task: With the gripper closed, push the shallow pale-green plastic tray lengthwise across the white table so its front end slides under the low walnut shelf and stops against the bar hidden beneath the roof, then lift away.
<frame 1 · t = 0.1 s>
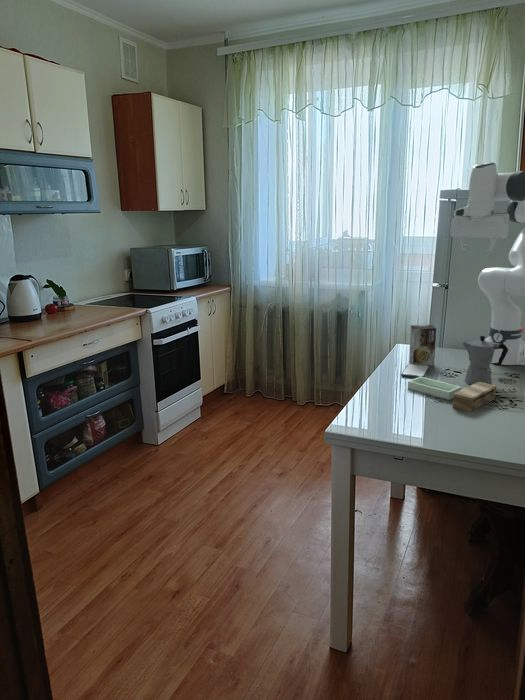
hand: (476, 250, 185), 48 cm above the table, tool pointing down, fingers open, 8 cm apart
walnut shelf: (472, 402, 171), on the table
smartphone: (415, 374, 203), on the table
tray: (433, 391, 181), on the table
coffee box: (421, 364, 214), on the table
coffeepot: (481, 383, 189), on the table
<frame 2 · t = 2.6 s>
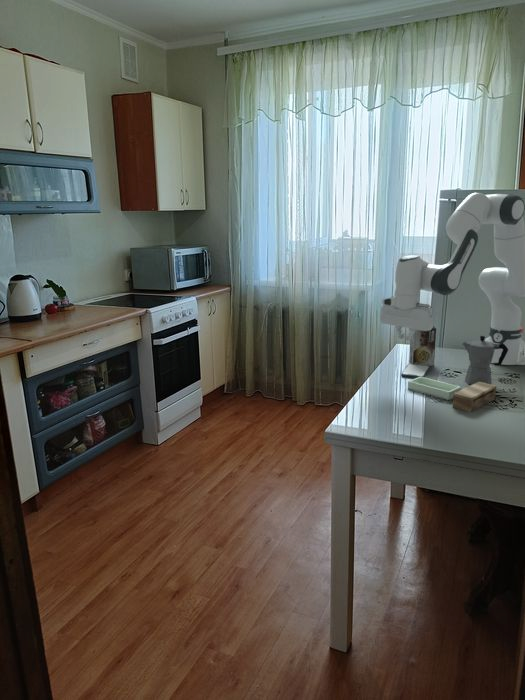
hand: (404, 339, 186), 17 cm above the table, tool pointing down, fingers closed
nothing on the table moved.
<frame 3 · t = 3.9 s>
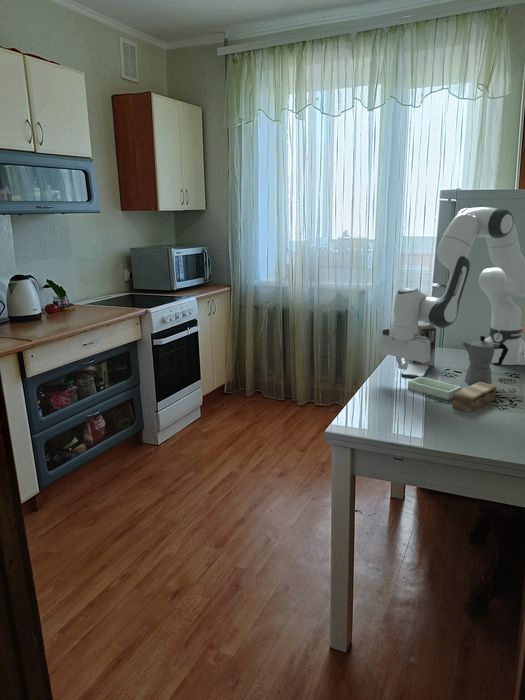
hand: (402, 368, 189), 6 cm above the table, tool pointing down, fingers closed
nothing on the table moved.
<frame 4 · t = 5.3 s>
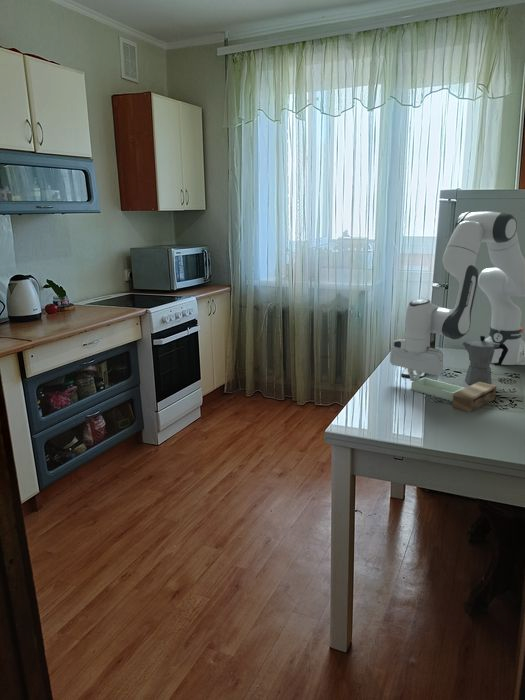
hand: (414, 381, 186), 2 cm above the table, tool pointing down, fingers closed
tray: (437, 393, 180), on the table, touching gripper
everything else where it was.
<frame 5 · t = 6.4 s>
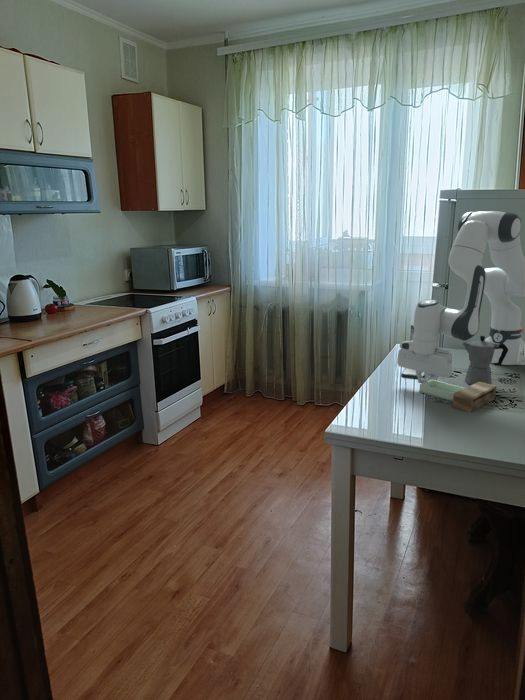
hand: (422, 383, 184), 2 cm above the table, tool pointing down, fingers closed
tray: (446, 395, 178), on the table, touching gripper
everything else where it was.
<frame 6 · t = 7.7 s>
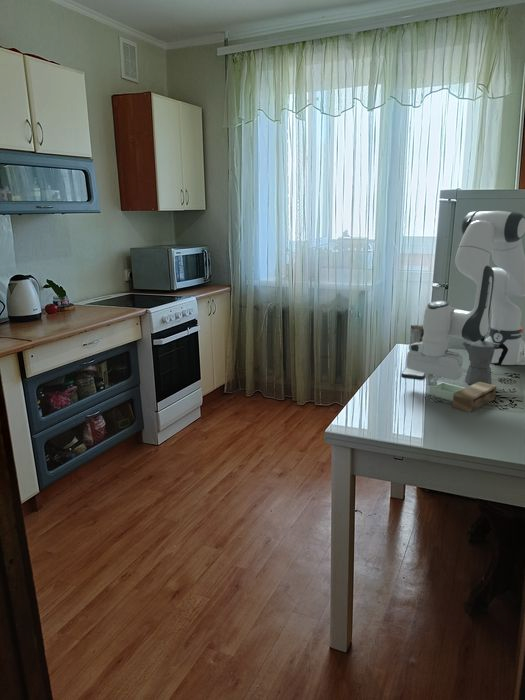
hand: (432, 385, 181), 2 cm above the table, tool pointing down, fingers closed
tray: (456, 398, 175), on the table, touching gripper
everything else where it was.
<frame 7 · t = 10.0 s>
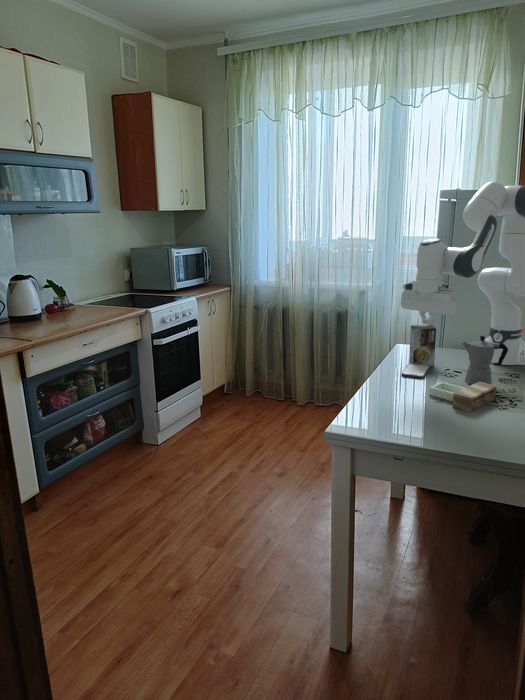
hand: (426, 323, 185), 23 cm above the table, tool pointing down, fingers closed
tray: (456, 398, 175), on the table
everything else where it was.
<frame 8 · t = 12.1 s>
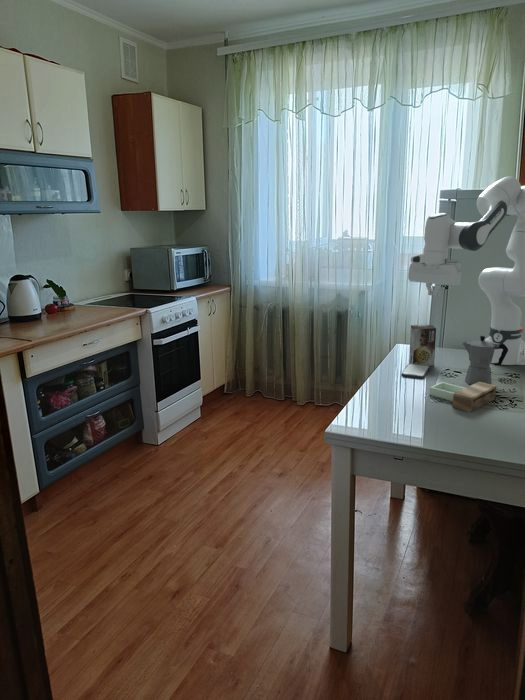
hand: (432, 295, 193), 31 cm above the table, tool pointing down, fingers closed
nothing on the table moved.
at the end: tray inside the target area (0.6 cm from its centre), on the table; tray moved 8.8 cm from its start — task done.
